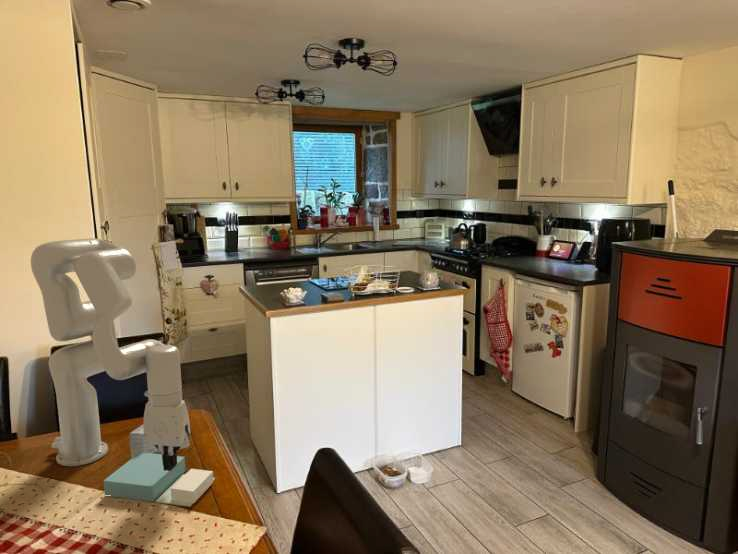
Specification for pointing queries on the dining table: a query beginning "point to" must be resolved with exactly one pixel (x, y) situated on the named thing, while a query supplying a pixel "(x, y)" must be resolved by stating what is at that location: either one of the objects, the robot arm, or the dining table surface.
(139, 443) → the medicine box
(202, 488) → the white rectangular block
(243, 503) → the dining table surface
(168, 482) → the block
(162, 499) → the mat
